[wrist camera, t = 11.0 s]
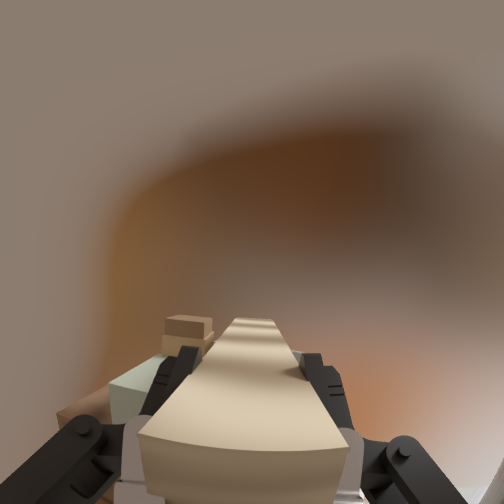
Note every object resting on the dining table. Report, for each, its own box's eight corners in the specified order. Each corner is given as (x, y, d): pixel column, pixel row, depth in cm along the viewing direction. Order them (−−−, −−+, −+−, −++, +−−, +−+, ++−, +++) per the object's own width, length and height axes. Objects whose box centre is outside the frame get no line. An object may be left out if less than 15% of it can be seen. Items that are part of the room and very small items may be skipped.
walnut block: (164, 494, 31) (155, 394, 34) (140, 542, 17) (112, 435, 20) (124, 482, 31) (109, 383, 34) (92, 523, 17) (56, 413, 20)
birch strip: (234, 343, 29) (236, 317, 30) (270, 345, 29) (272, 319, 30) (153, 520, 4) (137, 432, 4) (322, 532, 3) (348, 446, 4)
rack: (262, 528, 24) (285, 320, 30) (263, 598, 9) (316, 349, 14) (185, 520, 25) (178, 312, 30) (161, 586, 9) (107, 328, 14)
